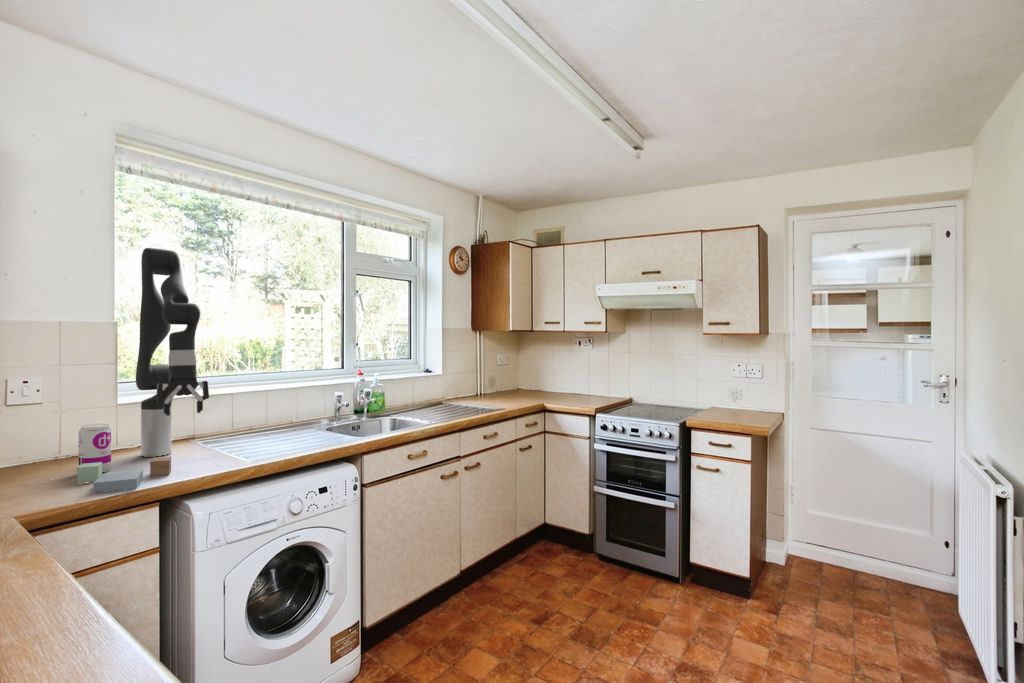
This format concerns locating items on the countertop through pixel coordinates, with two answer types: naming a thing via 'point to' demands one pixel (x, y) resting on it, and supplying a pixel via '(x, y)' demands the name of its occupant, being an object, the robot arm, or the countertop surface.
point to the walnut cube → (160, 466)
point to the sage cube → (89, 472)
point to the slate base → (118, 481)
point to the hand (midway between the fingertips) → (183, 414)
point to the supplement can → (95, 445)
